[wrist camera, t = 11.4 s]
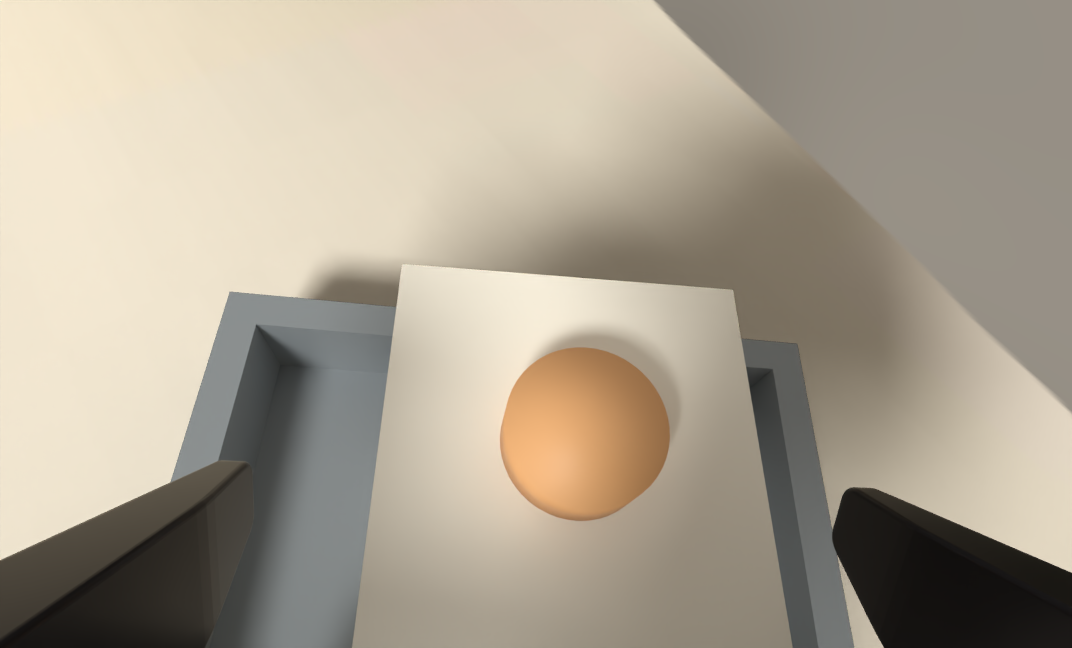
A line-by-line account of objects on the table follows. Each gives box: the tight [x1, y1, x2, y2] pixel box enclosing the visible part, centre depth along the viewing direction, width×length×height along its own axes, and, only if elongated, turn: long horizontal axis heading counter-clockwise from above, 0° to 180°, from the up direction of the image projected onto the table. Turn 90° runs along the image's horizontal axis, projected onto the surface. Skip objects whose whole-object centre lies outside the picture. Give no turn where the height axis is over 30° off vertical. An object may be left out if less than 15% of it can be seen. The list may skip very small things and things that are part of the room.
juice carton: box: [352, 264, 793, 648], centre depth 13 cm, size 6×6×12 cm
